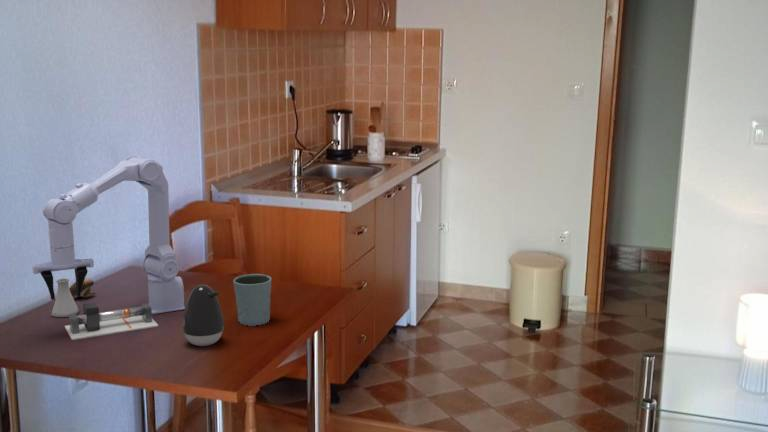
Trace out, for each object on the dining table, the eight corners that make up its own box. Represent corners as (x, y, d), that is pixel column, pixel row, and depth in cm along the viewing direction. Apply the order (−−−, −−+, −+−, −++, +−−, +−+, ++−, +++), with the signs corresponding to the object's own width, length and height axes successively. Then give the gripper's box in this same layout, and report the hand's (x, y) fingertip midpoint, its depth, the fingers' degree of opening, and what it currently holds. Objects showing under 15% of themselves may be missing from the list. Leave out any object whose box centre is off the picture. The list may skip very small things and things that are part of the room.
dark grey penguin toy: (205, 353, 205) (203, 293, 201) (174, 344, 210) (172, 286, 207) (233, 340, 213) (231, 283, 210) (203, 333, 218) (201, 277, 215)
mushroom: (104, 286, 248) (90, 270, 247) (84, 302, 242) (70, 285, 241) (94, 293, 253) (81, 277, 252) (74, 309, 248) (60, 293, 247)
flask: (69, 319, 228) (67, 284, 226) (45, 317, 230) (43, 282, 228) (84, 311, 235) (81, 277, 233) (61, 309, 237) (58, 275, 235)
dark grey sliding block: (96, 323, 223) (94, 302, 221) (99, 329, 218) (98, 307, 217) (84, 325, 221) (82, 304, 220) (88, 330, 217) (86, 309, 216)
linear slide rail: (148, 318, 229) (147, 303, 228) (152, 323, 225) (151, 307, 224) (70, 330, 219) (68, 314, 218) (73, 335, 215) (71, 319, 215)
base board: (147, 314, 232) (147, 313, 232) (158, 326, 223) (158, 324, 223) (64, 327, 222) (64, 325, 222) (72, 340, 212) (71, 338, 212)
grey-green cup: (279, 320, 229) (278, 278, 226) (250, 329, 221) (249, 286, 219) (256, 312, 235) (255, 271, 233) (227, 321, 228) (225, 278, 226)
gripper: (88, 239, 219) (91, 289, 222) (29, 245, 212) (33, 296, 215) (94, 245, 213) (97, 296, 216) (33, 251, 206) (37, 304, 209)
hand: (65, 297), depth 215 cm, fingers open, 6 cm apart
